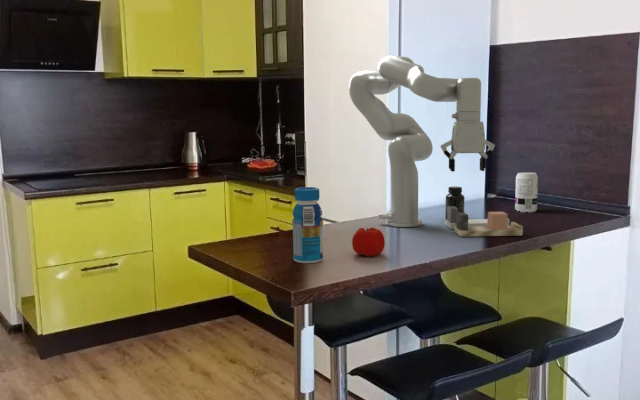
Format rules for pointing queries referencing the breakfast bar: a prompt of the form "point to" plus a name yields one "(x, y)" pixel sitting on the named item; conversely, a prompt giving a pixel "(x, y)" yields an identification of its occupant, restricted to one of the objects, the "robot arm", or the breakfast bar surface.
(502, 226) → the terracotta block
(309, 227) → the beverage bottle
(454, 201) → the supplement bottle
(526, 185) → the supplement can
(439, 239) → the breakfast bar surface
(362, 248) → the tomato
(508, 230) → the birch strip
